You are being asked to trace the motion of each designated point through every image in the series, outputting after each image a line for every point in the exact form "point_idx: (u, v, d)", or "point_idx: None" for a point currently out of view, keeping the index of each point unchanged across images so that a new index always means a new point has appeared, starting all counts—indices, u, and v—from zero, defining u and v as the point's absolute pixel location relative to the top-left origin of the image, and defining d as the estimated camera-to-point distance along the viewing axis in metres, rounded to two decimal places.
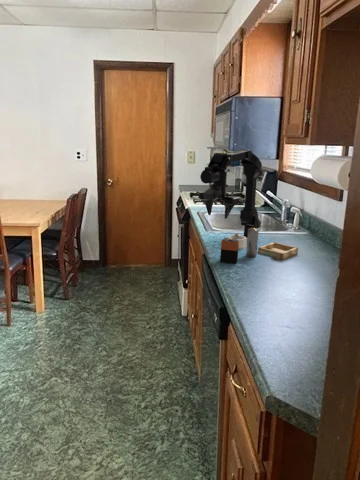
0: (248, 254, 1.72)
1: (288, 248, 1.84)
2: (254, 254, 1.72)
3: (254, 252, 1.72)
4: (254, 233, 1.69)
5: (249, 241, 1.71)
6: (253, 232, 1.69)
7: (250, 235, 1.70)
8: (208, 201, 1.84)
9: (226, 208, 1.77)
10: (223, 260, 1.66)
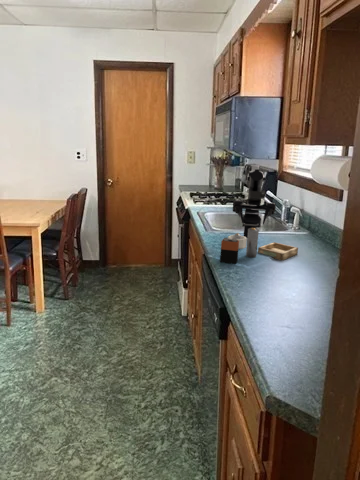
0: (248, 254, 1.72)
1: (288, 248, 1.84)
2: (254, 254, 1.72)
3: (254, 252, 1.72)
4: (254, 233, 1.69)
5: (249, 241, 1.71)
6: (253, 232, 1.69)
7: (250, 235, 1.70)
8: None
9: (266, 213, 1.79)
10: (223, 260, 1.66)
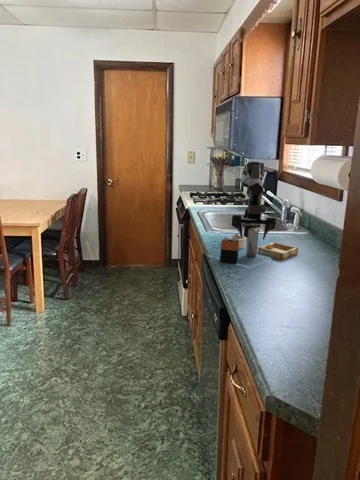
0: (248, 254, 1.72)
1: (288, 248, 1.84)
2: (254, 254, 1.72)
3: (254, 252, 1.72)
4: (254, 233, 1.69)
5: (249, 241, 1.71)
6: (253, 232, 1.69)
7: (250, 235, 1.70)
8: (241, 224, 1.76)
9: (266, 228, 1.73)
10: (223, 260, 1.66)
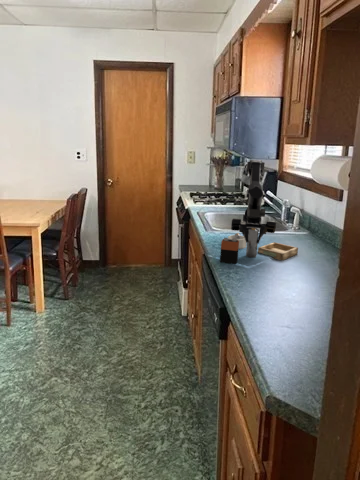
0: (248, 254, 1.72)
1: (288, 248, 1.84)
2: (254, 254, 1.72)
3: (254, 252, 1.72)
4: (254, 233, 1.69)
5: (249, 241, 1.71)
6: (253, 232, 1.69)
7: (250, 235, 1.70)
8: (246, 228, 1.74)
9: (261, 231, 1.72)
10: (223, 260, 1.66)
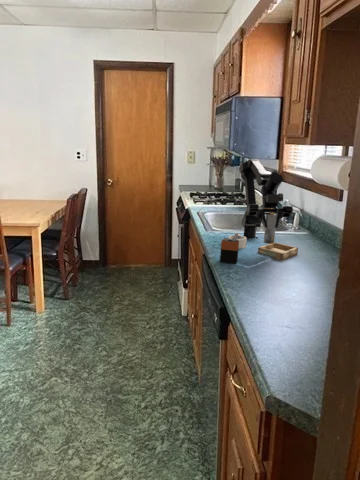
0: (267, 239, 1.74)
1: (288, 248, 1.84)
2: (273, 239, 1.74)
3: (273, 237, 1.74)
4: (273, 218, 1.71)
5: (268, 226, 1.72)
6: (272, 217, 1.71)
7: (270, 220, 1.71)
8: None
9: (279, 216, 1.74)
10: (223, 260, 1.66)
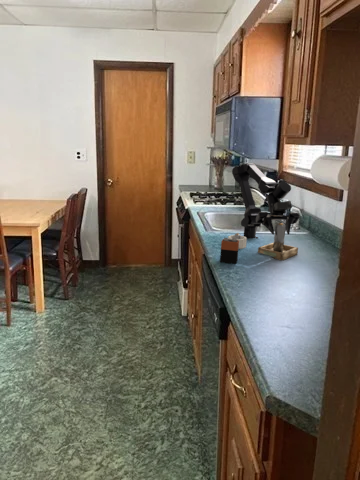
0: (277, 249, 1.79)
1: (288, 248, 1.84)
2: (282, 248, 1.79)
3: (282, 246, 1.79)
4: (283, 228, 1.76)
5: (278, 236, 1.77)
6: (282, 227, 1.76)
7: (279, 230, 1.76)
8: None
9: (289, 223, 1.79)
10: (223, 260, 1.66)
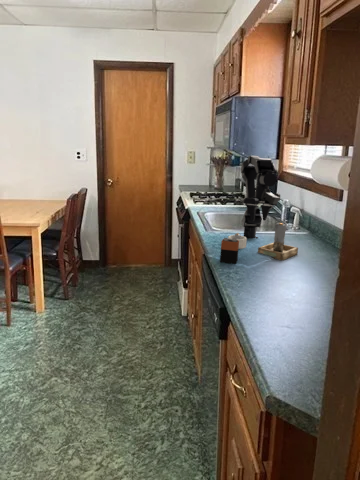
0: (277, 248, 1.79)
1: (288, 248, 1.84)
2: (282, 248, 1.79)
3: (282, 246, 1.79)
4: (283, 228, 1.76)
5: (278, 236, 1.77)
6: (282, 227, 1.76)
7: (280, 230, 1.76)
8: None
9: (269, 210, 1.90)
10: (223, 260, 1.66)
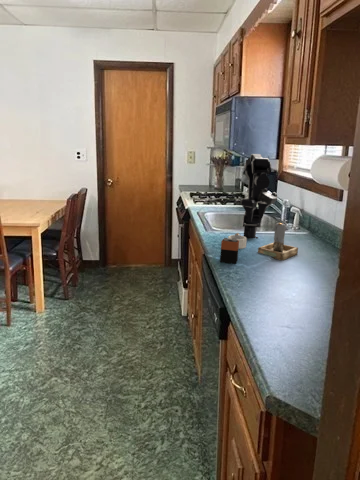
0: (277, 248, 1.79)
1: (288, 248, 1.84)
2: (282, 248, 1.79)
3: (282, 246, 1.79)
4: (283, 228, 1.76)
5: (278, 236, 1.77)
6: (282, 227, 1.76)
7: (279, 230, 1.76)
8: None
9: (265, 208, 1.90)
10: (223, 260, 1.66)
